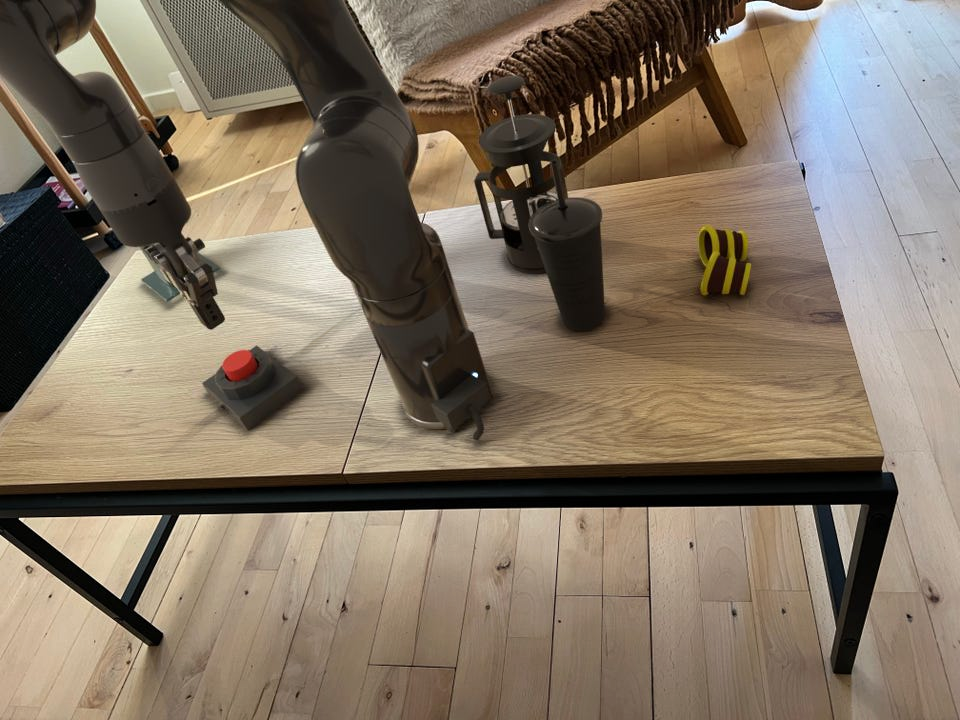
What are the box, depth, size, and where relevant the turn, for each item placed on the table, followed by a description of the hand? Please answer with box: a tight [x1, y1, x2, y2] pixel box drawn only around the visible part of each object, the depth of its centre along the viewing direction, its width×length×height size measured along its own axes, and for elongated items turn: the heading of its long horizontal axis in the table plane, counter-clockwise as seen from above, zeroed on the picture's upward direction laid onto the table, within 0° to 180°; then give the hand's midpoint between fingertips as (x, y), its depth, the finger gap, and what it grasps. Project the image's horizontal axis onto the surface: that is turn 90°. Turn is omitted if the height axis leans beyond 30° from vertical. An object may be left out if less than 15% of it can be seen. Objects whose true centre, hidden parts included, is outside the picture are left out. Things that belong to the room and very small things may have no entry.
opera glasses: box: [697, 224, 752, 296], centre depth 87 cm, size 10×5×5 cm, turn 170°
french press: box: [473, 75, 569, 275], centre depth 93 cm, size 12×9×23 cm
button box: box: [201, 345, 305, 432], centre depth 92 cm, size 10×8×4 cm
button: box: [221, 349, 258, 382], centre depth 90 cm, size 4×4×2 cm
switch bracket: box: [139, 247, 220, 302], centre depth 114 cm, size 10×9×13 cm
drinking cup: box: [528, 161, 606, 333], centre depth 83 cm, size 8×8×20 cm
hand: (214, 323), depth 86 cm, fingers closed
